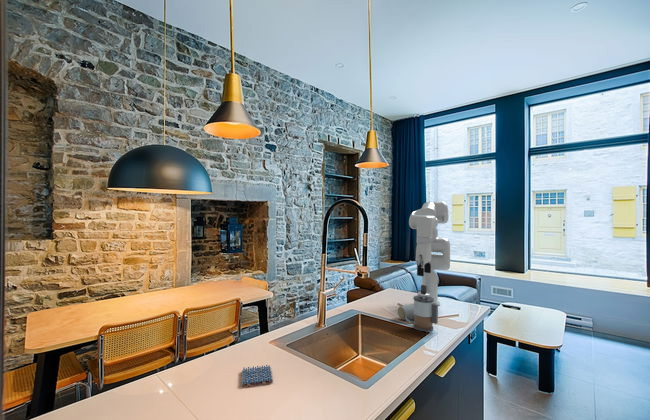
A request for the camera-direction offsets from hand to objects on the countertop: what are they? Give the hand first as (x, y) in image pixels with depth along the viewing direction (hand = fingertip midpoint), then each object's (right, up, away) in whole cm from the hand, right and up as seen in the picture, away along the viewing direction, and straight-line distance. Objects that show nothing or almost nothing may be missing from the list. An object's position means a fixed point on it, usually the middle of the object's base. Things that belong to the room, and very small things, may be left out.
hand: (424, 274), depth 148 cm
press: (-1, -27, -1) cm, 27 cm away
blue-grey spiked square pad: (-73, -26, -48) cm, 91 cm away
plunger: (0, -18, -1) cm, 18 cm away
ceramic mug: (-5, -27, +10) cm, 29 cm away
